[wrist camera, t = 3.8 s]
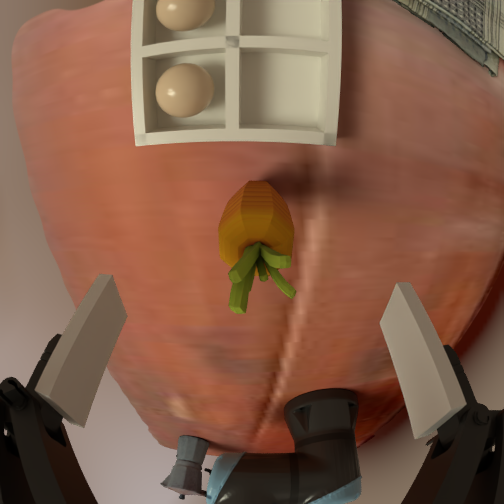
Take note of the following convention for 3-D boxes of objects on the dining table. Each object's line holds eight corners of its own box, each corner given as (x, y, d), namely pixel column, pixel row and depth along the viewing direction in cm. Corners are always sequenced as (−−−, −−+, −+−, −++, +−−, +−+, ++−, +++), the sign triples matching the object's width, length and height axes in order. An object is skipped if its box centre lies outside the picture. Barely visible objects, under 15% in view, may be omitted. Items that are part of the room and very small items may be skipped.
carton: (330, -19, 14) (339, -32, 11) (326, 138, 23) (335, 146, 20) (149, -14, 14) (135, -25, 12) (150, 138, 23) (135, 146, 20)
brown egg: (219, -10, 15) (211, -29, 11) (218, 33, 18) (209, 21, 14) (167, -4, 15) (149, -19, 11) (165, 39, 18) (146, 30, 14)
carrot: (273, 153, 24) (288, 236, 11) (291, 201, 26) (316, 316, 14) (222, 172, 25) (183, 270, 12) (243, 217, 28) (228, 338, 15)
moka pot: (166, 430, 63) (155, 492, 46) (221, 438, 63) (215, 503, 46) (171, 440, 68) (162, 496, 51) (221, 447, 68) (216, 505, 51)
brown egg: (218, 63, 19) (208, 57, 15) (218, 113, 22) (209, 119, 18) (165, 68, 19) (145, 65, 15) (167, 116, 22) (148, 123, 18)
